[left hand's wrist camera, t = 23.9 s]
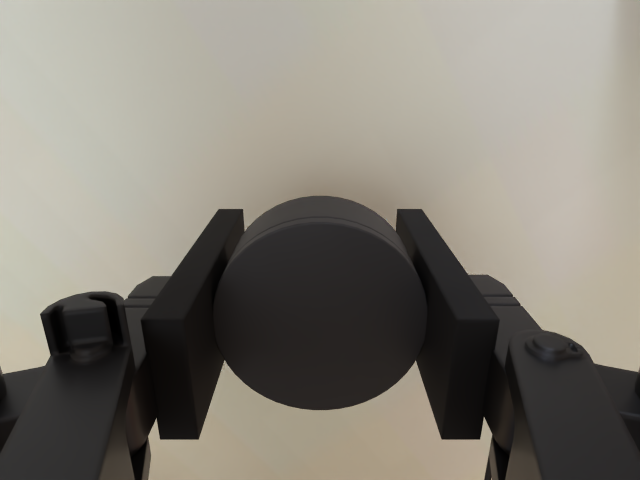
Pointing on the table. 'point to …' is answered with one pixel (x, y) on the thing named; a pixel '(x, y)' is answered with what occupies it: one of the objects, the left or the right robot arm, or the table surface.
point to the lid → (320, 305)
